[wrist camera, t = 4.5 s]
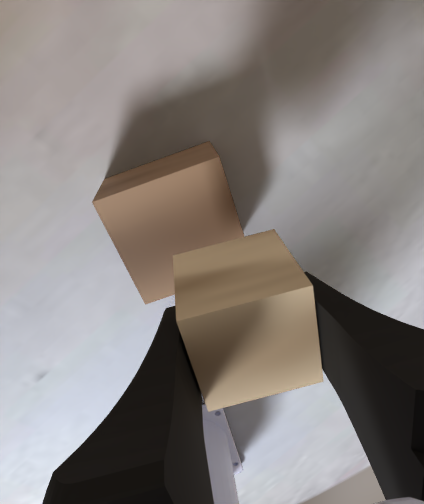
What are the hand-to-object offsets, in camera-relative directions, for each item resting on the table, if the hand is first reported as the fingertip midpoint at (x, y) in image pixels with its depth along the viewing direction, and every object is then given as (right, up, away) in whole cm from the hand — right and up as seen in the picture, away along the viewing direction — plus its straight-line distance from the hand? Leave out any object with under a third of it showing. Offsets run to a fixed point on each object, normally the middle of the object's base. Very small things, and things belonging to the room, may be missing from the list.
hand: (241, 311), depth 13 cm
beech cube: (0, +1, +1) cm, 2 cm away
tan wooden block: (-3, +5, +7) cm, 9 cm away
